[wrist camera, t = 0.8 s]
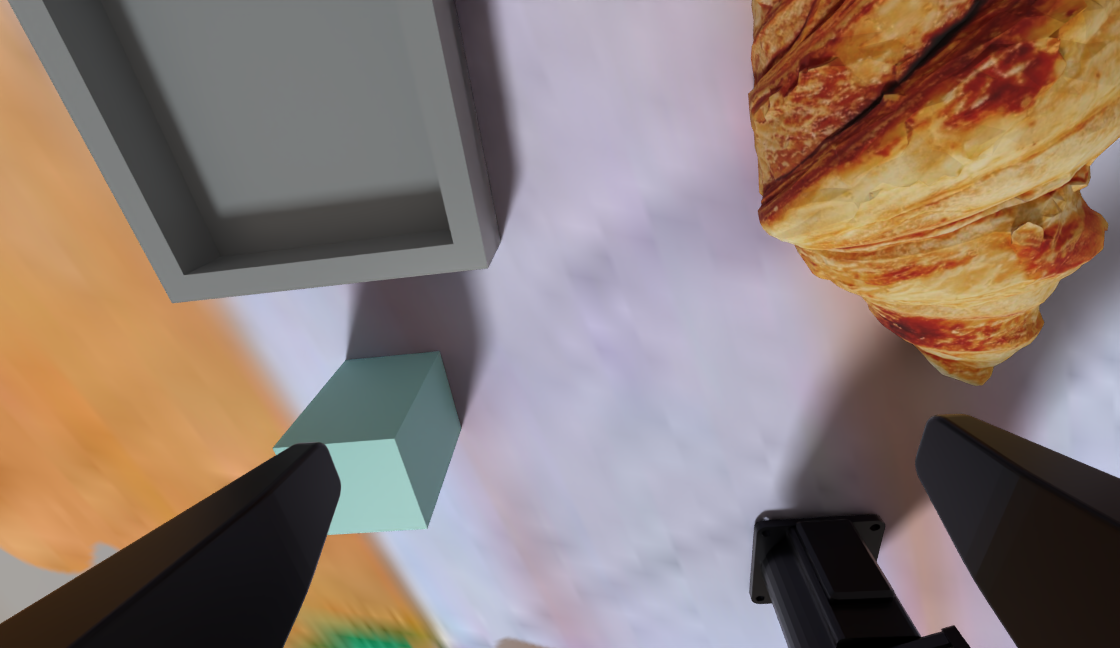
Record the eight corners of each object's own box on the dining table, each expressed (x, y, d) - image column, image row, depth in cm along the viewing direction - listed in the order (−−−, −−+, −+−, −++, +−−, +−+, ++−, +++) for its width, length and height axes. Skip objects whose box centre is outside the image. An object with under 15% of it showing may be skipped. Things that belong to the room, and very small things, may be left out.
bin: (501, 241, 19) (488, 268, 17) (225, 273, 21) (172, 303, 18) (424, -154, 14) (388, -208, 11) (57, -82, 15) (-55, -116, 12)
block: (461, 428, 24) (427, 528, 19) (375, 435, 24) (317, 535, 19) (439, 350, 22) (394, 438, 17) (346, 359, 22) (272, 448, 17)
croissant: (961, 290, 23) (1230, 322, 16) (824, 428, 22) (1056, 534, 14) (819, -234, 15) (1235, -646, 8) (579, -79, 13) (831, -423, 6)
